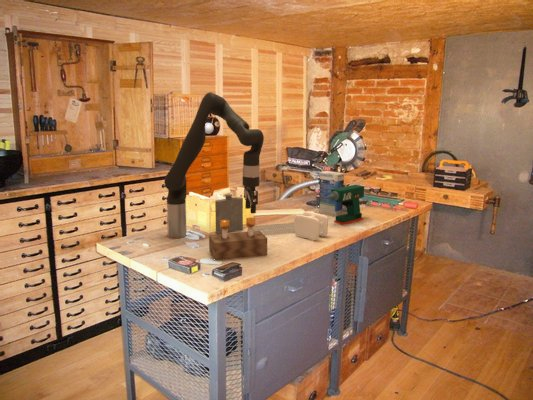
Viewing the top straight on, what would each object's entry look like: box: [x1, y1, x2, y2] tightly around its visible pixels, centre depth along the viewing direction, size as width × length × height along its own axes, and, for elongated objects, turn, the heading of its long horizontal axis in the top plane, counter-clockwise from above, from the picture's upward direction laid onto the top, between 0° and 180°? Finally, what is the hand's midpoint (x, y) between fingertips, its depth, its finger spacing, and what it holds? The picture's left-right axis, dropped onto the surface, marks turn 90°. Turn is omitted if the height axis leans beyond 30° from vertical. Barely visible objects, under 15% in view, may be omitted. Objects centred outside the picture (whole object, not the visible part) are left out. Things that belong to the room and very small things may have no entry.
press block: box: [208, 230, 268, 261], centre depth 199 cm, size 24×12×8 cm, turn 108°
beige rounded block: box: [293, 211, 329, 241], centre depth 224 cm, size 15×11×12 cm
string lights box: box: [318, 170, 345, 218], centre depth 267 cm, size 13×8×26 cm, turn 49°
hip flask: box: [214, 193, 244, 234], centre depth 230 cm, size 16×4×20 cm, turn 125°
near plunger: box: [220, 219, 229, 239], centre depth 196 cm, size 4×4×15 cm
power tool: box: [325, 184, 365, 226], centre depth 248 cm, size 32×7×20 cm, turn 131°
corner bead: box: [246, 221, 295, 236], centre depth 232 cm, size 29×9×5 cm, turn 108°
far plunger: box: [245, 217, 256, 237], centre depth 200 cm, size 4×4×15 cm
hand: (250, 210), depth 197 cm, fingers open, 8 cm apart
